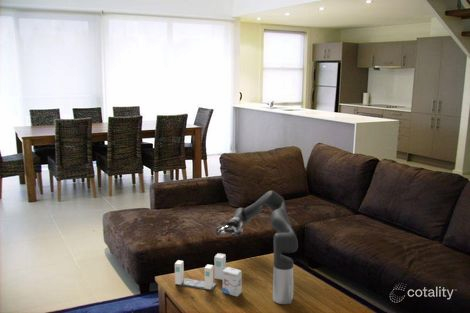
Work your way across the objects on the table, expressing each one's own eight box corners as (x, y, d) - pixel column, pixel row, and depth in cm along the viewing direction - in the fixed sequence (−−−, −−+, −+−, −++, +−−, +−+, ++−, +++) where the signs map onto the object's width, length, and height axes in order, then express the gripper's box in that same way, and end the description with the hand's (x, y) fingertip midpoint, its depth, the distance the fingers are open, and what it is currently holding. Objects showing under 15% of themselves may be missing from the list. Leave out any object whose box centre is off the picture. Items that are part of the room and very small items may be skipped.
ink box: (221, 292, 213) (221, 270, 210) (226, 288, 217) (226, 266, 215) (237, 297, 209) (237, 274, 206) (241, 292, 213) (242, 270, 211)
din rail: (216, 284, 220) (216, 283, 220) (212, 290, 215) (212, 288, 215) (180, 279, 226) (180, 277, 226) (175, 284, 221) (175, 282, 220)
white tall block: (225, 275, 231) (225, 254, 229) (222, 279, 226) (222, 258, 224) (217, 274, 232) (217, 253, 230) (214, 278, 227) (214, 257, 225)
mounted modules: (213, 285, 217) (213, 265, 215) (210, 289, 214) (210, 268, 212) (178, 280, 223) (178, 260, 221) (175, 283, 219) (174, 263, 217)
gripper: (222, 217, 250) (212, 227, 235) (246, 220, 246) (238, 230, 231) (222, 229, 252) (212, 240, 236) (246, 232, 247) (237, 243, 232)
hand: (225, 235), depth 234 cm, fingers open, 8 cm apart
